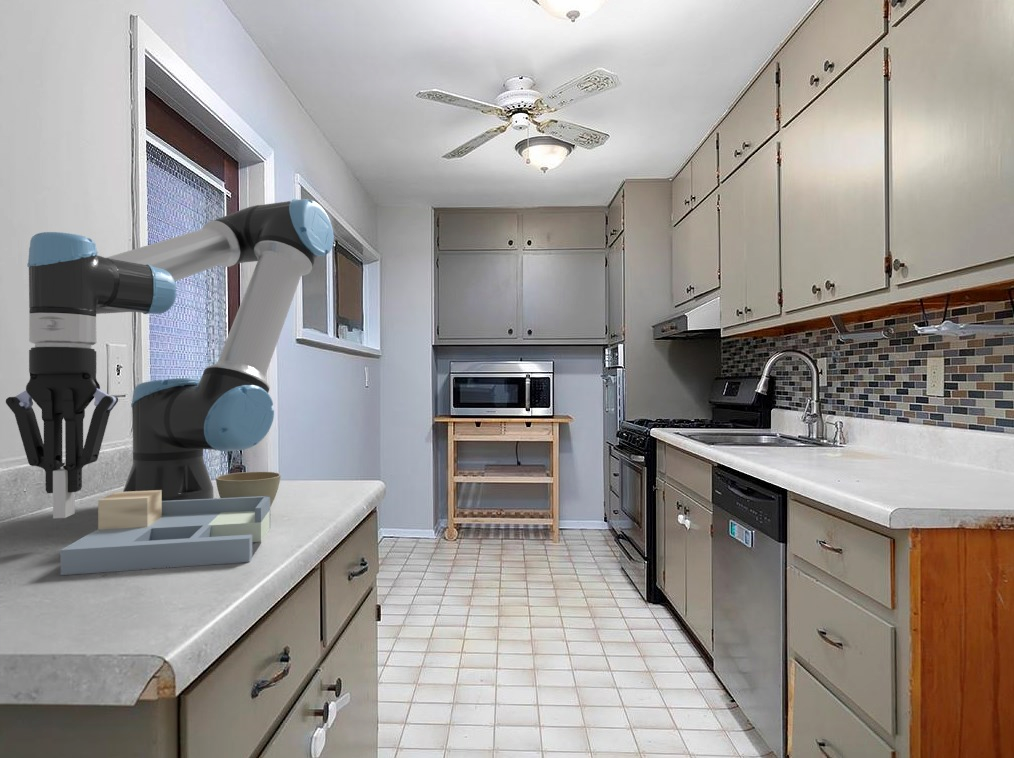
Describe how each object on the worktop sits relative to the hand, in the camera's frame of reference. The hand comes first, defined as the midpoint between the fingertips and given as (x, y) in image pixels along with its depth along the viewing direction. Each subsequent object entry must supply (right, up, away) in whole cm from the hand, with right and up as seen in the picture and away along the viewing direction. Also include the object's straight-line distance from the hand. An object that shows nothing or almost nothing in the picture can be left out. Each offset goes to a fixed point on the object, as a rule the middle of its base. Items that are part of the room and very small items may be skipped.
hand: (64, 515), depth 83 cm
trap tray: (+16, -4, -1) cm, 17 cm away
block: (+8, -1, +2) cm, 9 cm away
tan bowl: (+18, -5, +17) cm, 26 cm away
